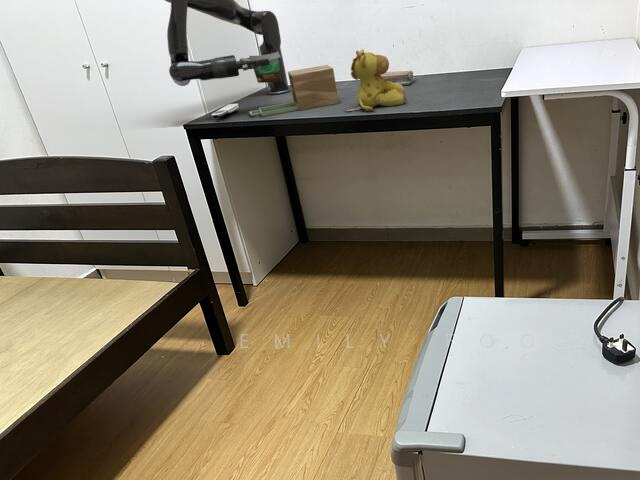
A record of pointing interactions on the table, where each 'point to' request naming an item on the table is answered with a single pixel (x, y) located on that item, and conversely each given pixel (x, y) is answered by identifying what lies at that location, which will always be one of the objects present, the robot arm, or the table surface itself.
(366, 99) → the giraffe plush
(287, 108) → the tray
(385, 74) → the packaged product
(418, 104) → the table surface
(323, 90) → the wooden block
